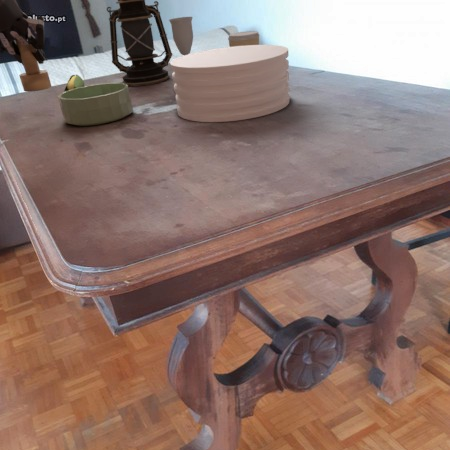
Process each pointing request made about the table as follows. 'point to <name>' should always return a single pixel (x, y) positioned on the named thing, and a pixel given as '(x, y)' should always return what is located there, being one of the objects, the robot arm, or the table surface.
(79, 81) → the edible corn
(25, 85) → the pestle
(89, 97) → the bowl
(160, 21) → the lantern
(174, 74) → the plate stack
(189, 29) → the chalice
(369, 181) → the table surface
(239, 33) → the coffee cup
